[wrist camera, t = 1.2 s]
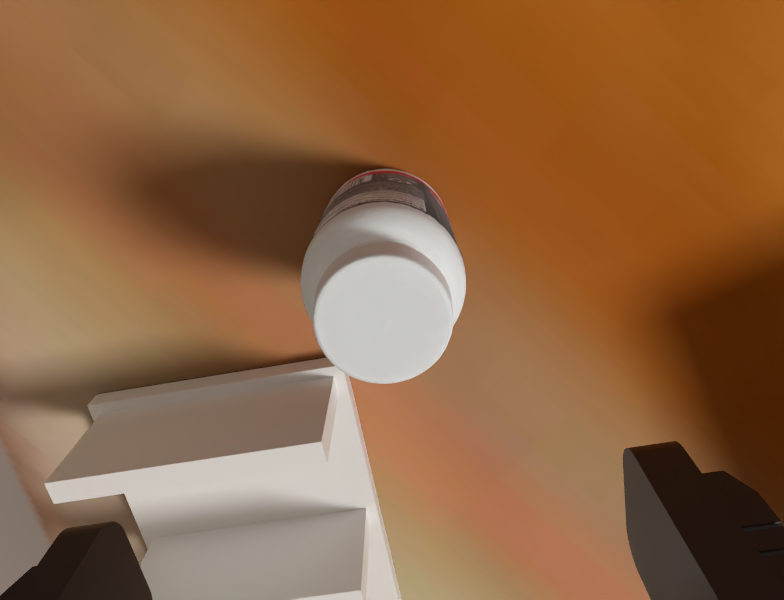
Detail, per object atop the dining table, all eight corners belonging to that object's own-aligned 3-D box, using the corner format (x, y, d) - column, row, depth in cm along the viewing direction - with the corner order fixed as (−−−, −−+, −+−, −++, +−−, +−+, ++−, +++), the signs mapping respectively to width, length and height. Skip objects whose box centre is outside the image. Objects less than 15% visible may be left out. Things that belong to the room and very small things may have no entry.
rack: (96, 394, 29) (27, 474, 24) (344, 354, 29) (331, 428, 23) (201, 647, 36) (165, 758, 30) (406, 621, 35) (408, 730, 29)
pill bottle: (452, 284, 27) (480, 401, 18) (331, 293, 27) (298, 413, 18) (446, 160, 25) (475, 222, 16) (315, 170, 25) (271, 237, 16)
